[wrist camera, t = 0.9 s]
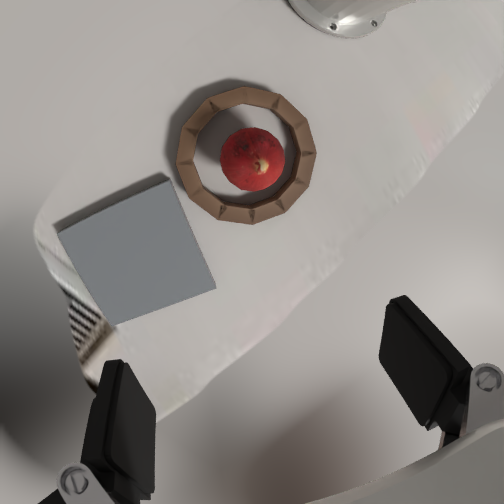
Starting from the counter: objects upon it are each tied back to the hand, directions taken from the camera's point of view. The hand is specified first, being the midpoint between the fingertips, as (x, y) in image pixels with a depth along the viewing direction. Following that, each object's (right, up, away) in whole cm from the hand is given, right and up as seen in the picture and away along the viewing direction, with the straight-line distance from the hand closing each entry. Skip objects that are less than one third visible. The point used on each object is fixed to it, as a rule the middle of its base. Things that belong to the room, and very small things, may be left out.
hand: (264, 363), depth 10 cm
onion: (-1, +14, +20) cm, 25 cm away
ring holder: (-1, +14, +20) cm, 24 cm away
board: (-13, +3, +22) cm, 26 cm away
